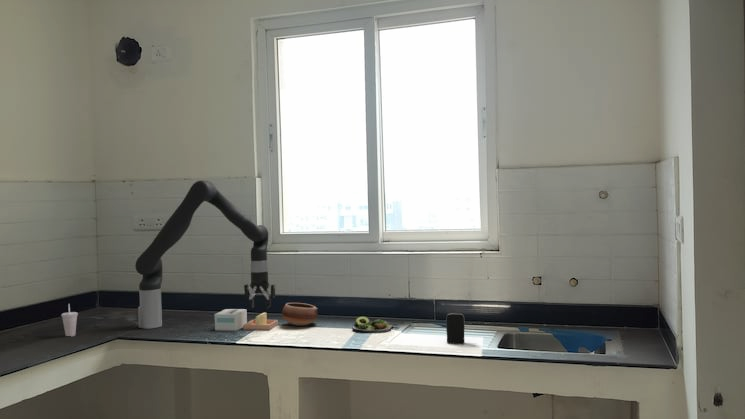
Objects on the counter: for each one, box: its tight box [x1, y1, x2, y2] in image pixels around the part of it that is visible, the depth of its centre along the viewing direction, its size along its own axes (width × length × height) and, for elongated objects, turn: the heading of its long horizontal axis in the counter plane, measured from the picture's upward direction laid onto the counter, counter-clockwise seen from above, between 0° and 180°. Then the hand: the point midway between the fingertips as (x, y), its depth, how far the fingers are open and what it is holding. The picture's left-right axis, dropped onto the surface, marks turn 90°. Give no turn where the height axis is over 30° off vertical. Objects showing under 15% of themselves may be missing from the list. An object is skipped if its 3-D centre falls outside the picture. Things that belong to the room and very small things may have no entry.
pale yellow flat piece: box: [255, 312, 268, 325], centre depth 268 cm, size 1×5×9 cm
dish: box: [242, 319, 279, 331], centre depth 268 cm, size 12×11×2 cm
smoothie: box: [60, 303, 79, 337], centre depth 261 cm, size 6×6×14 cm
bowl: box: [281, 302, 318, 327], centre depth 270 cm, size 16×16×10 cm
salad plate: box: [351, 316, 399, 334], centre depth 261 cm, size 19×18×5 cm
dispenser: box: [214, 308, 248, 332], centre depth 269 cm, size 10×12×7 cm
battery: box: [445, 312, 466, 345], centre depth 233 cm, size 7×4×11 cm, turn 78°
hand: (260, 307), depth 268 cm, fingers open, 6 cm apart
